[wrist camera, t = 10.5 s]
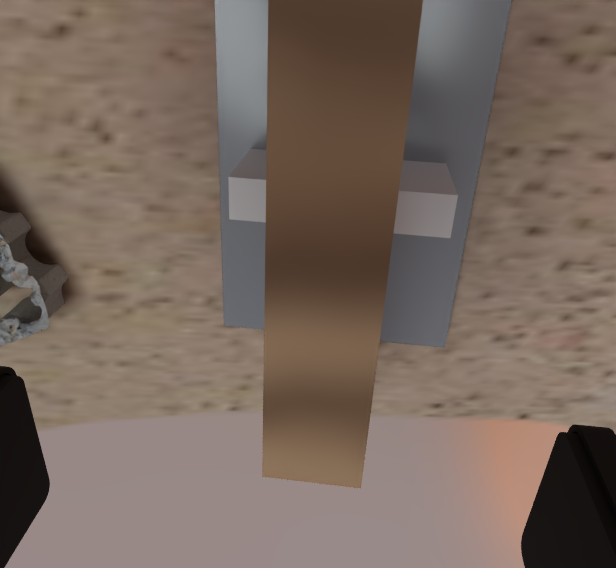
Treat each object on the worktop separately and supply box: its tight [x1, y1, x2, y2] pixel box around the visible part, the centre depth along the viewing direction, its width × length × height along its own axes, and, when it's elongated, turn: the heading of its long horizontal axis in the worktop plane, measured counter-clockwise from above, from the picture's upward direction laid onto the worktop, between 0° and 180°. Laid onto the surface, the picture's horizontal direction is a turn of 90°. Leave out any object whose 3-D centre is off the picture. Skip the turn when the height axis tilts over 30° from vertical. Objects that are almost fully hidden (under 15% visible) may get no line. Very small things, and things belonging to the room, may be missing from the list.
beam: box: [262, 0, 423, 488], centre depth 20 cm, size 20×4×5 cm, turn 177°
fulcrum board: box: [215, 0, 512, 348], centre depth 25 cm, size 18×12×6 cm, turn 177°
